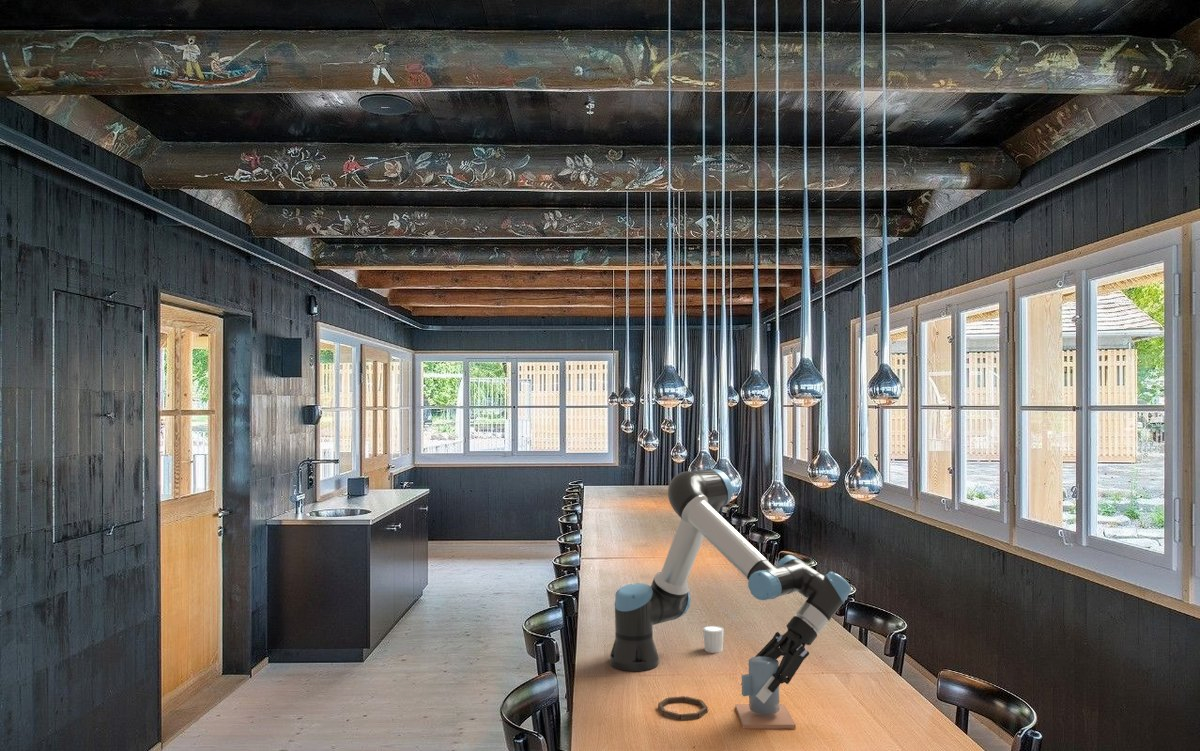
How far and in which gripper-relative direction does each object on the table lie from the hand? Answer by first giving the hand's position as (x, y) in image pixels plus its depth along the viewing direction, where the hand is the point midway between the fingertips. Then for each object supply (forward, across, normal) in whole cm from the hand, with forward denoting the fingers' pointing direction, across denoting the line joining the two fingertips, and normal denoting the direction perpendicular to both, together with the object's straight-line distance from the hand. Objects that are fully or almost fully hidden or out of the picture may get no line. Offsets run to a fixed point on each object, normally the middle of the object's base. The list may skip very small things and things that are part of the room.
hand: (752, 693), depth 200 cm
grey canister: (+1, 0, -5) cm, 5 cm away
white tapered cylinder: (-5, +54, -15) cm, 56 cm away
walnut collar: (+15, +11, +6) cm, 19 cm away
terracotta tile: (+2, 0, -7) cm, 7 cm away
